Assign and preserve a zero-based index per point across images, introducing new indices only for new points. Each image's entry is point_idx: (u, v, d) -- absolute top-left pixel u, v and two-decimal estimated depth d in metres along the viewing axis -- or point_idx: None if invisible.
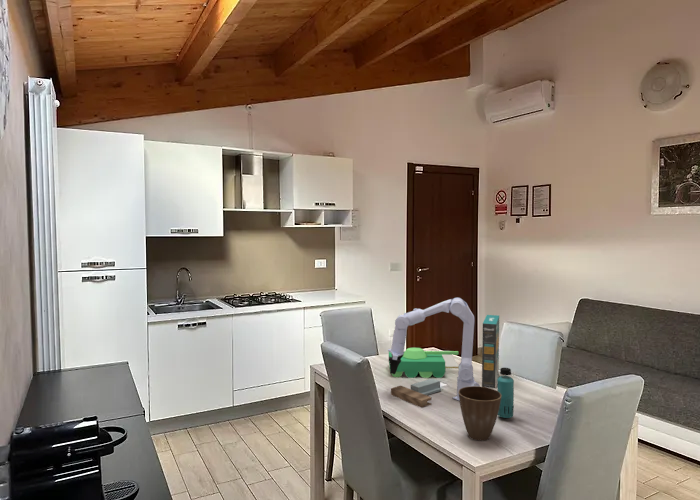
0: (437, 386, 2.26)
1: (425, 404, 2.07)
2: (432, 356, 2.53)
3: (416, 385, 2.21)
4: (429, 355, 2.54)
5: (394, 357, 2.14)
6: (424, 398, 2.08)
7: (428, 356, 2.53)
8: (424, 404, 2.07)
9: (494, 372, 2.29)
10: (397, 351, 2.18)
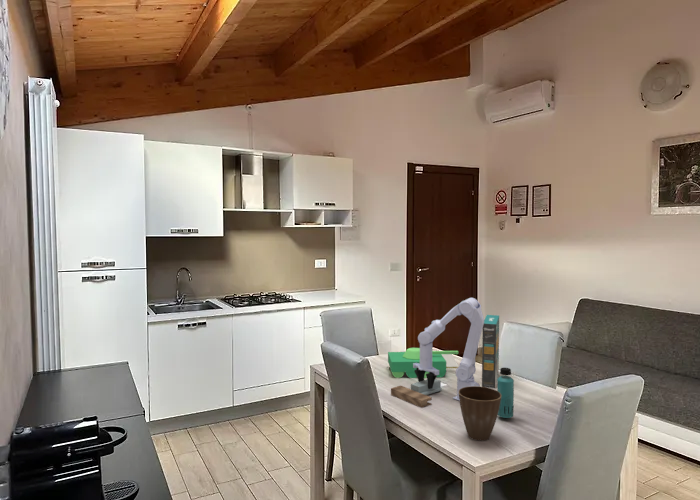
0: (437, 386, 2.25)
1: (425, 404, 2.07)
2: (432, 356, 2.53)
3: (416, 385, 2.21)
4: None
5: (437, 372, 2.18)
6: (424, 398, 2.08)
7: None
8: (424, 404, 2.07)
9: (494, 372, 2.29)
10: (431, 366, 2.22)
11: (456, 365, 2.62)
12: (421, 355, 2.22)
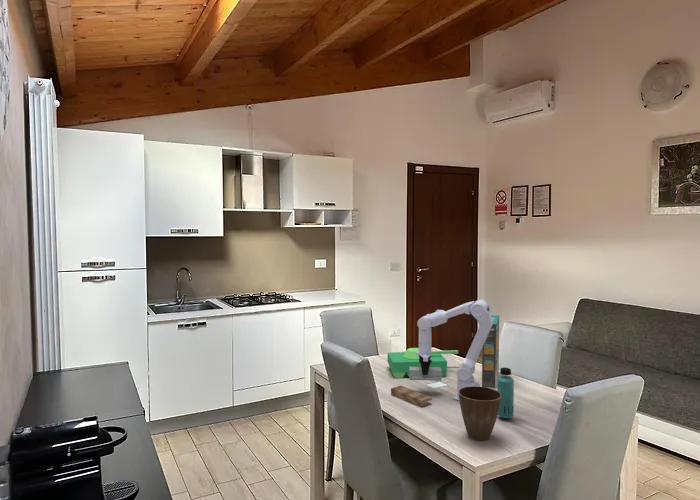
0: (437, 375, 2.19)
1: (425, 404, 2.07)
2: (432, 356, 2.53)
3: (412, 368, 2.23)
4: None
5: (425, 359, 2.14)
6: (424, 398, 2.08)
7: None
8: (424, 404, 2.07)
9: (494, 372, 2.29)
10: (426, 352, 2.19)
11: (456, 365, 2.62)
12: (420, 341, 2.19)
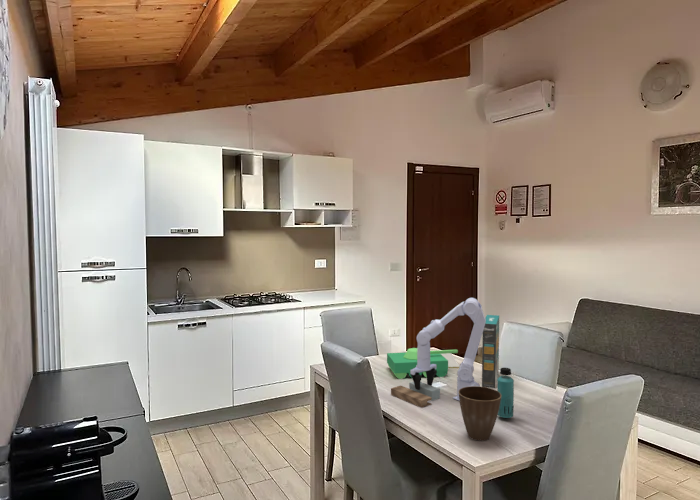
0: (429, 394, 2.15)
1: (425, 404, 2.07)
2: (432, 356, 2.53)
3: None
4: None
5: (411, 372, 2.16)
6: (424, 398, 2.08)
7: None
8: (424, 404, 2.07)
9: (494, 372, 2.29)
10: (419, 366, 2.18)
11: (457, 365, 2.62)
12: (420, 355, 2.17)
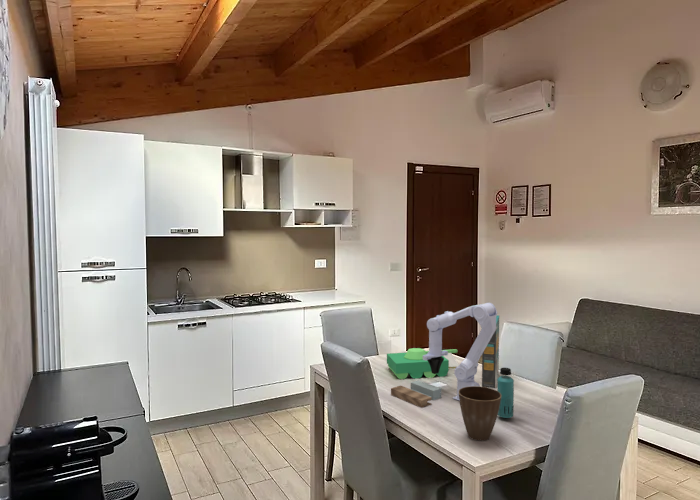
0: (430, 394, 2.15)
1: (425, 404, 2.07)
2: None
3: (416, 382, 2.25)
4: None
5: (423, 357, 2.20)
6: (424, 398, 2.08)
7: None
8: (424, 404, 2.07)
9: (494, 372, 2.29)
10: (431, 352, 2.22)
11: (457, 365, 2.62)
12: (430, 341, 2.23)
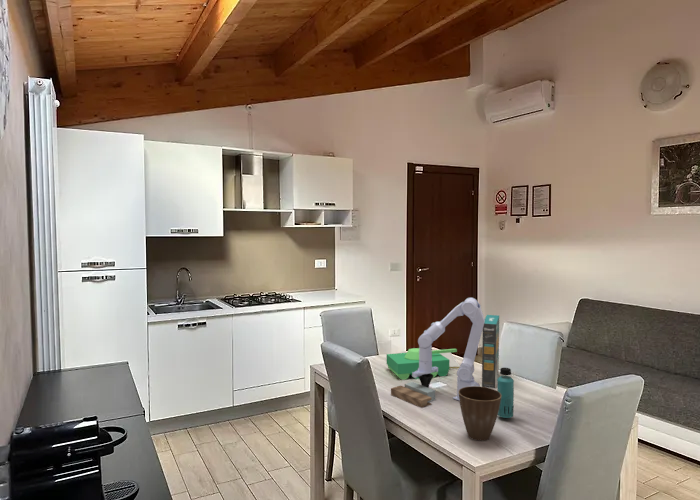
0: None
1: (425, 404, 2.07)
2: (432, 355, 2.54)
3: (410, 383, 2.23)
4: None
5: (413, 374, 2.17)
6: (424, 398, 2.08)
7: None
8: (424, 404, 2.07)
9: (494, 372, 2.29)
10: (421, 369, 2.19)
11: (457, 365, 2.62)
12: (421, 358, 2.18)
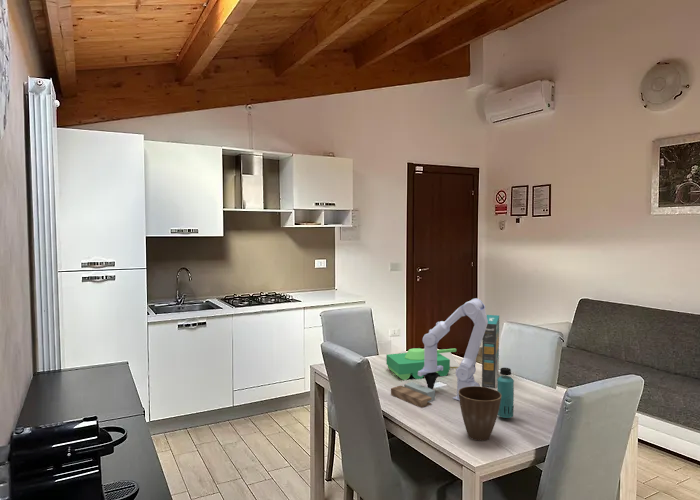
0: None
1: (425, 404, 2.07)
2: None
3: (410, 383, 2.23)
4: None
5: (418, 373, 2.18)
6: (424, 398, 2.08)
7: None
8: (424, 404, 2.07)
9: (494, 372, 2.29)
10: (426, 368, 2.21)
11: (457, 365, 2.62)
12: (426, 357, 2.21)
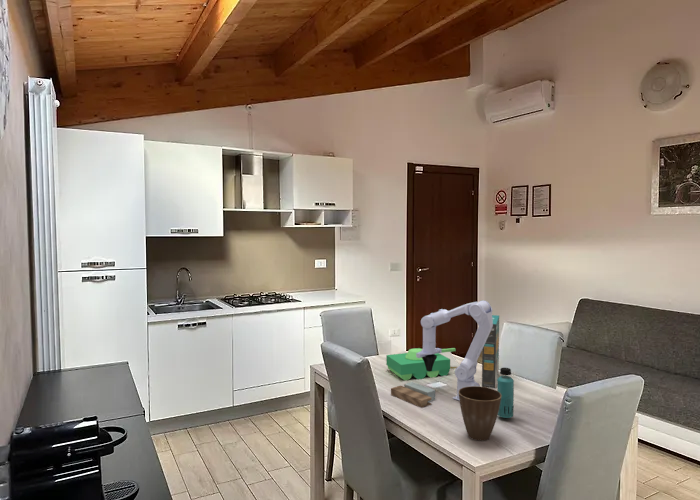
0: None
1: (425, 404, 2.07)
2: None
3: (410, 383, 2.23)
4: None
5: (417, 355, 2.20)
6: (424, 398, 2.08)
7: None
8: (424, 404, 2.07)
9: (494, 372, 2.29)
10: (425, 350, 2.22)
11: (457, 365, 2.62)
12: (424, 339, 2.23)
